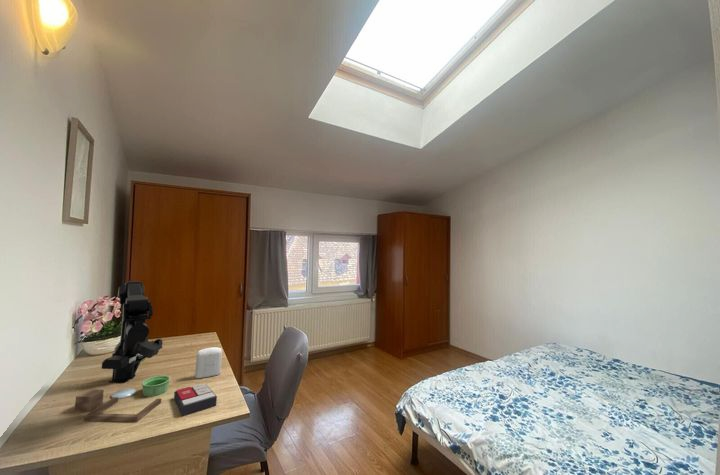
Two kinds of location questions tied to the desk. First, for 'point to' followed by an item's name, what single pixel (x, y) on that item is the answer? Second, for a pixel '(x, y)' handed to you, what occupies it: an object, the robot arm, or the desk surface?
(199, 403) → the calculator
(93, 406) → the walnut block
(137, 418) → the bay
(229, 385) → the desk surface
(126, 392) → the pale grey dome
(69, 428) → the desk surface
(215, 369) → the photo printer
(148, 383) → the ramekin
